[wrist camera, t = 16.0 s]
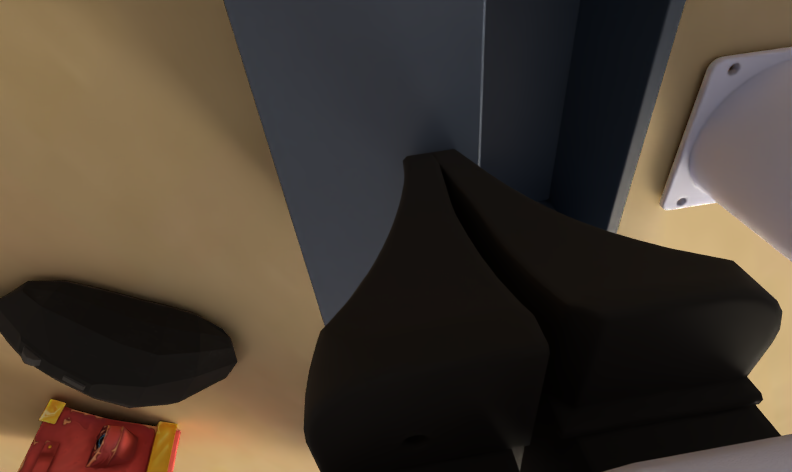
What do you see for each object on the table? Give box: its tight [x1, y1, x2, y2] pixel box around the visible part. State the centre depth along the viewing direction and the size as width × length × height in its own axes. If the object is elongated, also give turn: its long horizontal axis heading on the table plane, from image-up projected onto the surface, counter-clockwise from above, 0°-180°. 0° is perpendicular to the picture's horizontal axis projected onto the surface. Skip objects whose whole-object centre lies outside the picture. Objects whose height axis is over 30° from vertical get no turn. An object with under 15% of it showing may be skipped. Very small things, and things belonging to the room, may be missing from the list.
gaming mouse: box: [0, 281, 237, 408], centre depth 22 cm, size 6×15×4 cm, turn 55°
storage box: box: [480, 0, 686, 234], centre depth 16 cm, size 15×12×6 cm
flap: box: [223, 0, 486, 326], centre depth 12 cm, size 15×6×1 cm, turn 5°
